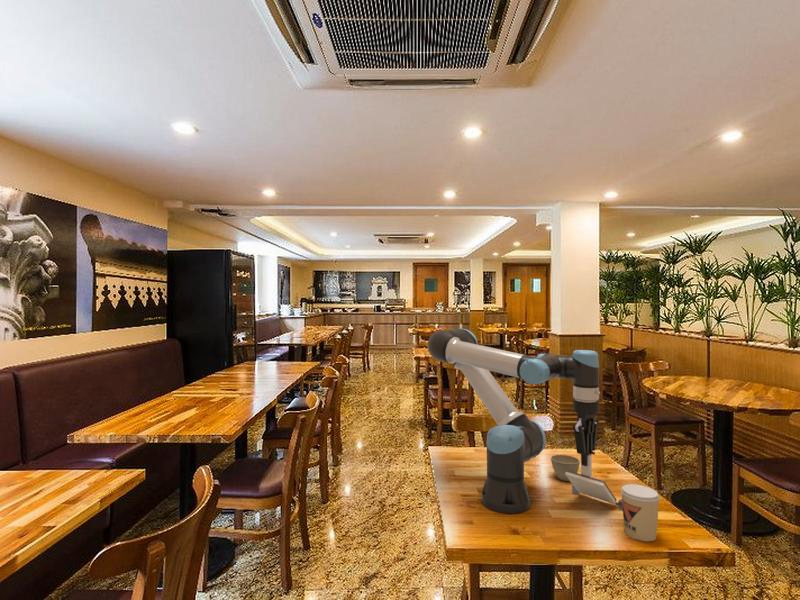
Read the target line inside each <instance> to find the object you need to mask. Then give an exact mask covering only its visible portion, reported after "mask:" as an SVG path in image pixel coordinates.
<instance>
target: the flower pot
mask: <svg viewBox="0 0 800 600" xmlns="http://www.w3.org/2000/svg"><path fill="white" fill-rule="evenodd" d="M550 461H551V465H552V468H553V470H554V474H555V475H556V477H557V479H559V480H561V481H564V482H570V480H569V479H568V478H567V476H566V475H565V473H566V470H568V471H572V472H575V473H578V471H579V468H580V466H581V459H579V458H577V457H575V456H572V455H569V454H568V455H567V454H554V455H552V456H551V457H550Z"/></svg>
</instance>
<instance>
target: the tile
mask: <svg viewBox="0 0 800 600" xmlns="http://www.w3.org/2000/svg"><path fill="white" fill-rule="evenodd" d="M565 475H566V476H567V478H568V479H569V480H570V481H569V482H570V483H571V484H572V486H574V487H575V488H576V490H577V491H578V492H580V493H579V494H582V493H583V495H585V494H586V495H585V496H588V495H589V497H591V496H592V497H591V498H594V497H595V498H594V499H597V498H598V500H600V499H601V500H600V501H603V500H604V501H603V502H606V501H607V502H606V503H609V502H610V503H609V504H612V503H613V505H615V504H616V503H617V502H618V500H617V498H616V497H615V495H614V494H613V492H612V491H611V489H610V488H609V486H608V484H607V483H606V482H605V480H601V479H598V478H594V477H592V476H591V477H588V476H585V475H582V474H581V473H578V472H577V473H575V472H572V471H568V470H566V473H565Z"/></svg>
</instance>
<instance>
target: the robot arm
mask: <svg viewBox="0 0 800 600" xmlns="http://www.w3.org/2000/svg"><path fill="white" fill-rule="evenodd" d="M478 342H479V341H478V339H477V337H476V335H475V334H474V333H473V332H472V331H470V330H468V329H466V328H460V327H459V328H458V327H457V328H453V329H452V328H451V329H440V330H437V331H434V333H432V334H431V335H430V336H429V338H428V341H427V351H428V353H429V355H430V356H431V357H432V359H434V360H436V361H437V362H441V363H442V362H443V363H447V364H451V365H452V366H453V368H454V369H456V370H459V371H461V373H462V374H463V375H464V378H465V379H466V380H467V382H468V383H469V384H470V385H471V387H472V389H473V390H474V392H475V393H476V395H477V396H478V398H479V400H480V401H481V402H482V404H483V406H485V407H486V409H487V411H488V412H489V414H490V415H491V417H492V419H494V421H495V423H496V424H497V425H496V426H493V427H491V428H490V429H489V430H488V432H487V434H486V442H485V443H486V444H485V445H486V478H485V482H484V484H483V487H482V491H481V502H482V503H481V504H482V505H484V506H485V507H486V508H488V509H490V510H492V511H495V512H498V513H504V514H518V513H519V514H520V513H524V512H526V511H528V509H529V508H531V507H530V506H531V505H530V504H531V497H530V494H529V493H528V492H529V491H528V488H527V485H526V482H525V463H527V462H529V461H530V460H532V459H534V458H536V457H537V456H539V455H540V454H541V453H542V452H543V450H545V448H546V442H547V437H546V433H545V431H544V429H543V427H542V426H541V425H540V424H539V423H537V422H536V421H533V420H530V419H529V417H528V415H527V414H526V413H525V412H522V411H519V410H518V409H517V408H516V407H515V405H514V403H513V402H512V400H511V399H510V398H509V397H508V395H507V394H506V392H505V391H504V390H503V388H502V387H501V385H500V384H499V383H498V381H497V379H496V378H495V377H494V376H493V374H492V373H491V372H494V373H498V374H501V375H502V374H503V375H506V376H511V377H513V378H518V379H521V380H523V381H524V382H525V383H526V384H529V385H530V384H531V385H540V384H543V383H544V382H547V381H551V380H553V379H563V380H564V379H565V380H572V398H573V399H572V400H573V401H572V407H573V408H572V410H573V412H574V413H576V414H577V416H576V417H577V418H576V424H573V425H572V429H573V431H574V438H575V448H576V453H577V454H579V455H580V474H582V475H585V476H588V477H592V475H593V473H592V470H593V469H592V467H593V466H592V462H593V461H592V460H593V459H592V455H594V456H595V454H596V452H595V451H596V446H597V445H596V444H597V434H598V427H599V422H600V421H599V419H597V418H596V415H598V414H599V413H600V402H599V399H600V394H601V391H600V383H599V382H600V364H599V363H600V362H599V359H600V358H599V354H598V352H597V351H595V350H589V349H576V350H573V351H572V355H566V354H565V355H563V354H553V353H538V354H537V355H536V356H532V355H526V354H522V353H519V352H512V351H508V350H504V349H500V348H495V347H491V346H485V345H481V344H478Z"/></svg>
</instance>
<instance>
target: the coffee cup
mask: <svg viewBox="0 0 800 600" xmlns="http://www.w3.org/2000/svg"><path fill="white" fill-rule="evenodd" d="M620 492H621V499H622V505H623V510H622V516H623V517H622V518H623V527H624V532H625V534H626V535H627V536H629V538H632V539H634V540H637V541H642V542H652V541H653V542H654V541H655V540H656V539H657V531H658V523H659V522H658V520H659V519H658V517H659V506H660V505H659V504H660V503H659V501H660V495H659V493H658V491H656V490H655V488H652V487H649V486H646V485H643V484H632V483H631V484H625V485H623V486H622V487H621V490H620Z"/></svg>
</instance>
